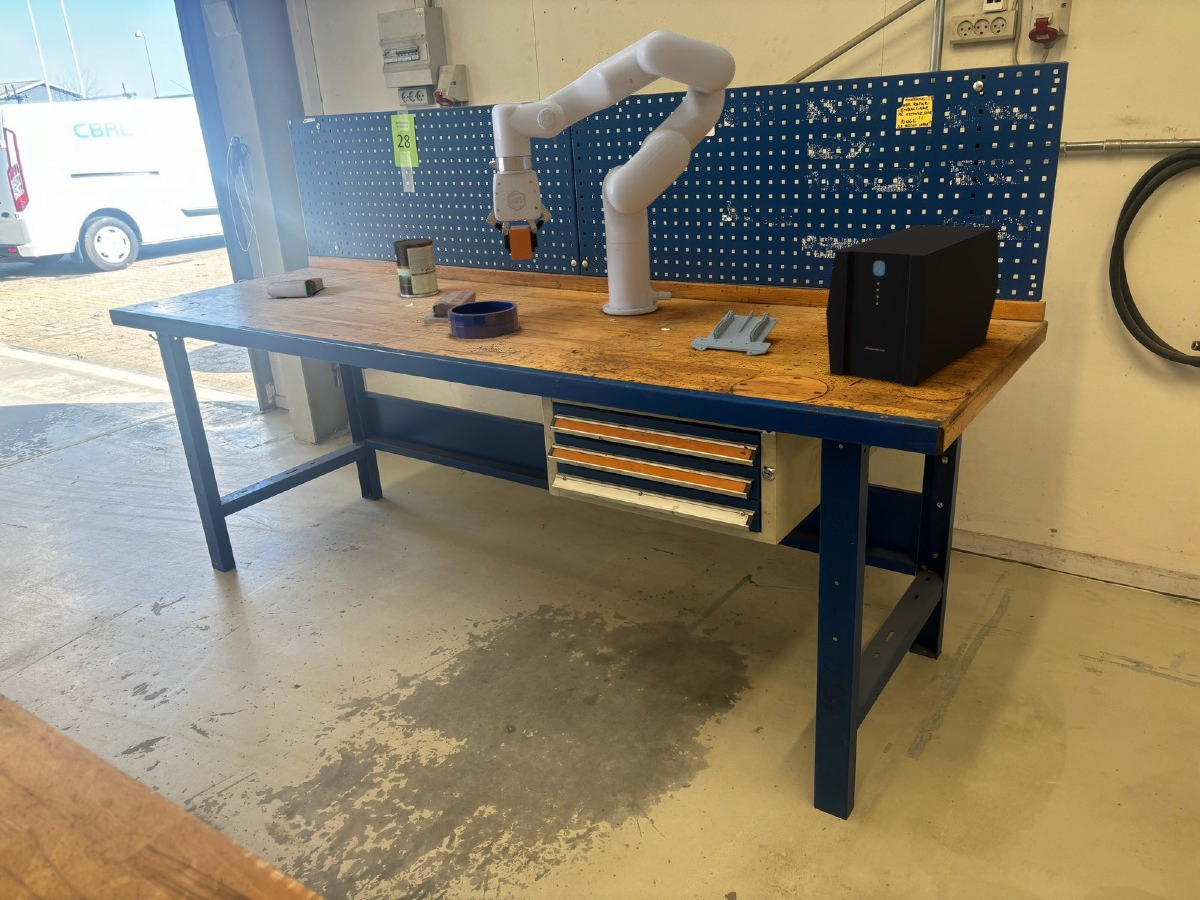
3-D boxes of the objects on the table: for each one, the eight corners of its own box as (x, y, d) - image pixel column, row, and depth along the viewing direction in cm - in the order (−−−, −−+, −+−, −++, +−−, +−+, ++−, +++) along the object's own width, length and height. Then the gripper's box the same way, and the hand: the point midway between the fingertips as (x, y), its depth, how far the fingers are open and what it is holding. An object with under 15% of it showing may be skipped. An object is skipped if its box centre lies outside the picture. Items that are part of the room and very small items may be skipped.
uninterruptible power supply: (823, 372, 141) (828, 250, 134) (906, 329, 164) (914, 223, 157) (921, 387, 131) (932, 256, 124) (995, 339, 154) (1008, 225, 147)
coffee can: (394, 298, 226) (386, 244, 221) (408, 290, 235) (400, 238, 230) (432, 297, 224) (424, 242, 219) (444, 289, 234) (437, 237, 229)
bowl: (521, 323, 189) (519, 298, 187) (516, 339, 176) (514, 312, 174) (456, 327, 189) (452, 302, 187) (446, 343, 176) (443, 317, 174)
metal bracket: (717, 303, 168) (790, 308, 160) (720, 329, 171) (792, 335, 164) (686, 340, 159) (762, 346, 151) (690, 366, 162) (765, 374, 155)
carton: (532, 255, 191) (530, 224, 189) (531, 258, 187) (529, 227, 184) (513, 256, 191) (510, 226, 189) (511, 260, 187) (509, 228, 184)
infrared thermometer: (327, 290, 249) (310, 297, 235) (287, 292, 249) (267, 299, 235) (325, 274, 248) (307, 280, 233) (284, 276, 248) (264, 282, 234)
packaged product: (442, 289, 207) (482, 287, 206) (445, 309, 209) (484, 307, 208) (420, 304, 191) (464, 303, 189) (423, 325, 192) (466, 324, 191)
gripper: (473, 168, 178) (482, 257, 185) (553, 163, 178) (559, 252, 185) (476, 167, 185) (485, 252, 192) (554, 162, 185) (560, 247, 192)
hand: (522, 251), depth 188 cm, fingers closed on carton, 4 cm apart
